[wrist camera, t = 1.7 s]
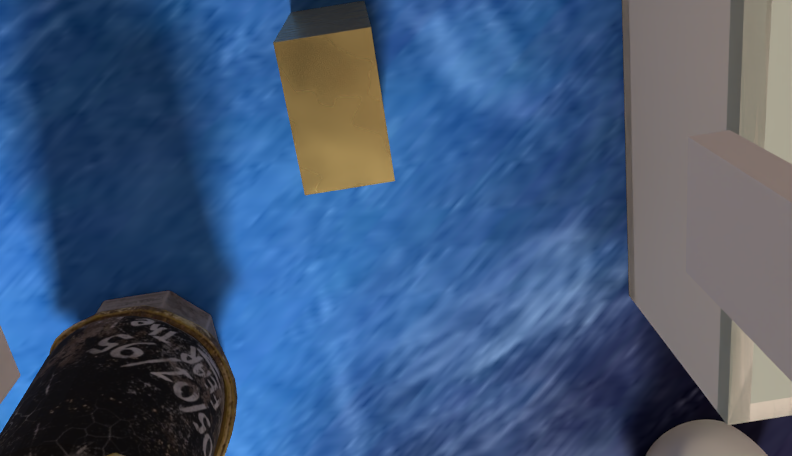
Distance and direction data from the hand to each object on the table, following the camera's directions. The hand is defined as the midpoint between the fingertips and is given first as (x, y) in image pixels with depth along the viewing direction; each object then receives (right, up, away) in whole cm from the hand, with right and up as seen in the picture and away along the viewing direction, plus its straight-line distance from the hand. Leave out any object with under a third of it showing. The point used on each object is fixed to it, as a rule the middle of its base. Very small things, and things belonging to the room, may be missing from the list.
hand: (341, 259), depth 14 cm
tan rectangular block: (-1, +7, +17) cm, 19 cm away
